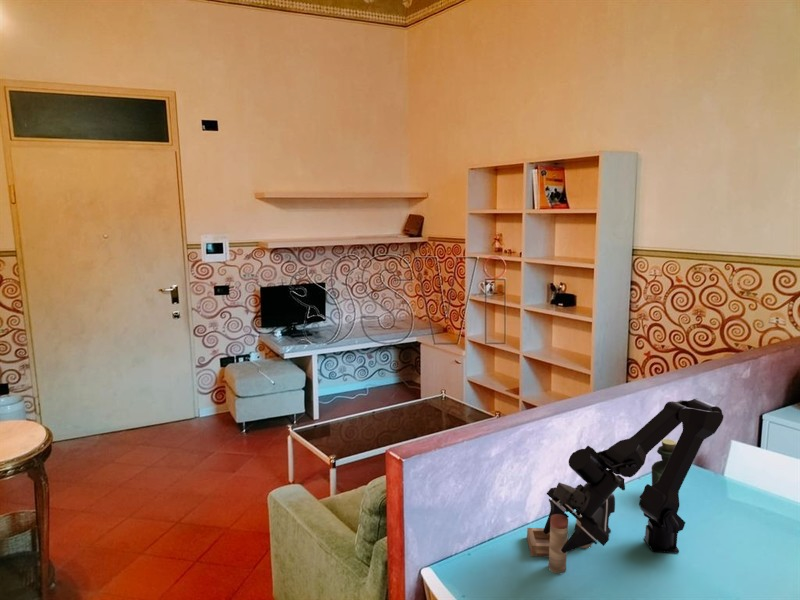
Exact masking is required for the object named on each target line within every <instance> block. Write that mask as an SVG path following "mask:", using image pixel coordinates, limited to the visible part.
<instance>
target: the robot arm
mask: <svg viewBox="0 0 800 600" xmlns="http://www.w3.org/2000/svg"><path fill="white" fill-rule="evenodd" d="M723 420H724V414H723V410H722V409H721V408H720V407H719V406H717V405H714V404H712V403H710V402H708V401H705V400H703V399H700V398H692V399H691V400H683V399H680V400H678V401H674V400H673V401H672V400H671V401H667V402H666V403H665V404H664V407H663V409H661V410H660V411H659V412H658V413H657V414H655V416H654V417H652V418H651V419H650V420H649V421H648V422H647V423H645V425H644V426H643V427H641V429H639V430H638V431H637V432H636V433H634V434H633V436H631V437H629V438H626V439H625V438H624V439H622V440H618V441H617V442H616V443H614V444H613V445H611V446H609V447H608V448H606V449H604V450H600V451H598V452H597V451H596V449H594V448H592V447H591V446H590V445H586V447H585V448H580V449H577V450H575V451H574V452H572V453H571V454H570V456H569V459H568V466H569V467H570V468H571V470H572V471H574V473H575V474H577V475H578V476H579V477H580V478H581V479H582V480H583V481H584V482H586V483H585V484H584V485H582V484H581V483H580V484H578V485H577V486H576V487H574V486H573V487H572V486H571V485H569V484H566V483H565V484H564V483H563V482H558V483H557V486H556V487H550V488H549V490H548V491H547V492H546V495H547V496H548V497H549V498H548V502H549V504H550V505H549V506H550V511H549V514H548V517H547V520H546V522H545V525H544V530H543V532H544V533H545V534H548V533H549V532H550V520H551V516H552V515H554V514H561V515H564V516H566V517H567V518H568V519H569V515H568V514H567V513H569V514H571V515H572V516H573V517H574V518H575V520H576V519H577V520H578V521H580V522H581V526H582V527H579V526H578V525H577V524H576V523H575V525H574V531H573V533H572V534H571V536H569V538H567V542H566V543H565V544H564V546H563V547H562V549H561V551H562V552H563V553H566V552H567V553H569V552H571V551H574V550H576V549H578V548H580V547H582V546H585V545H588V544H595V545H597V544H598V543H600V545H601V546H602V547H604V546H605V545H606V544H607V543H608V542H609V540H610V539H609V538H610V533H609V534H608V533H607V532H606V531H605V530H603V529H602V528H601V527H600V526H599V525H598V524H597V523H596V522H595V520H594V519H593V518H592V517H593V515H594V514H595V513H596V512H597V511H598V510H599V508H600V507H601V508H602V509H603V510H604V509H605V508H606V506H605V505H604V502H605V501H606V500H607V499H608V498H609V497H610V495H611V494H612V493H613V494H614V493H615V491H616V490H617V488H618V489H620V490H622V491H625V490H626V484H625V478H632V477H634V476H636V475H637V473H638V472H639V471H640V470H641V469H642V467H643V466H644V465H645V462H646V459H647V455H648V454H649V453H650V451H651V450H653V449H654V448H655V447H656V446H657V445H659V443H660V442H662V440H663V439H666V437H667V436H668V435H670V434H671V433H672V432H673V431H674V430H675V429H676V428H677V427H678V426H680V425H681V424H682V432H681V434H680V436H679V437H678V440H677V441H676V446H675V448H674V450H673V452H672V454H671V456H670V458H669V460H668V462H667V464H666V466H665V469H664V471H663V473H662V475H661V477H660V479H659V481H658V482H657V483H655V484H653V485H652V484H651V485H650V484H648V483H647V484H646V485H645V486H644V489H643V492H642V494H641V495H640V496H639V499H640V500H639V503H638V505H639V506H640V510H641V512H642V513H643V516H644V517H646V518H647V524H645V530H644V531H645V533H644V540H645V542H646V544H647V546H649V548H650V550H651V552H653V553H672V554H673V553H674V554H677V553H680V549H679V548H678V546H677V543H678V534H679V532H680V531H683V530H684V528H685V525H686V521H685V520H684V519H683V518H682V517H680V515H678V512H679V510H680V509H679V508H680V497H679V496H680V495H679V493H680V490H681V487H682V485H683V483H684V481H685V479H686V477H687V475H688V473H689V470H690V468H691V467H692V465H693V462H694V461H695V458H696V456H697V454H698V452H699V451H700V449H701V446H702V444H703V442H704V440H706V439H708V438H709V437H711V436H713V435H715V433H716V432H717V430H719V427H720V426H721V424H722V423H723ZM678 492H679V493H678ZM580 515H582V517H580ZM579 517H580V518H579Z"/></svg>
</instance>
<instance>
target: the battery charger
mask: <svg viewBox="0 0 800 600" xmlns="http://www.w3.org/2000/svg"><path fill="white" fill-rule="evenodd" d="M604 505H605V506H606V508H605V509H604V510H603V509H602V508H601V507H600V508H599V510H598V511H597V512H596V513H595V514H594V515H593V517H592V518H593V519H594V520H595V522H596V523H597V524H598V525H599V526H600V527H601V528H602V529H603V530H605V531H606V532H607V533H608V534H609V535H610V534H611V533H612V530H611V528H610V527H609V520H610V516H611V515H612V514H613V513H615V511H616V497H615V495H614V492H613V493H612V494H611V495H610V497H609V498H608V499H607V500H606V501H605V502H604Z"/></svg>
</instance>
